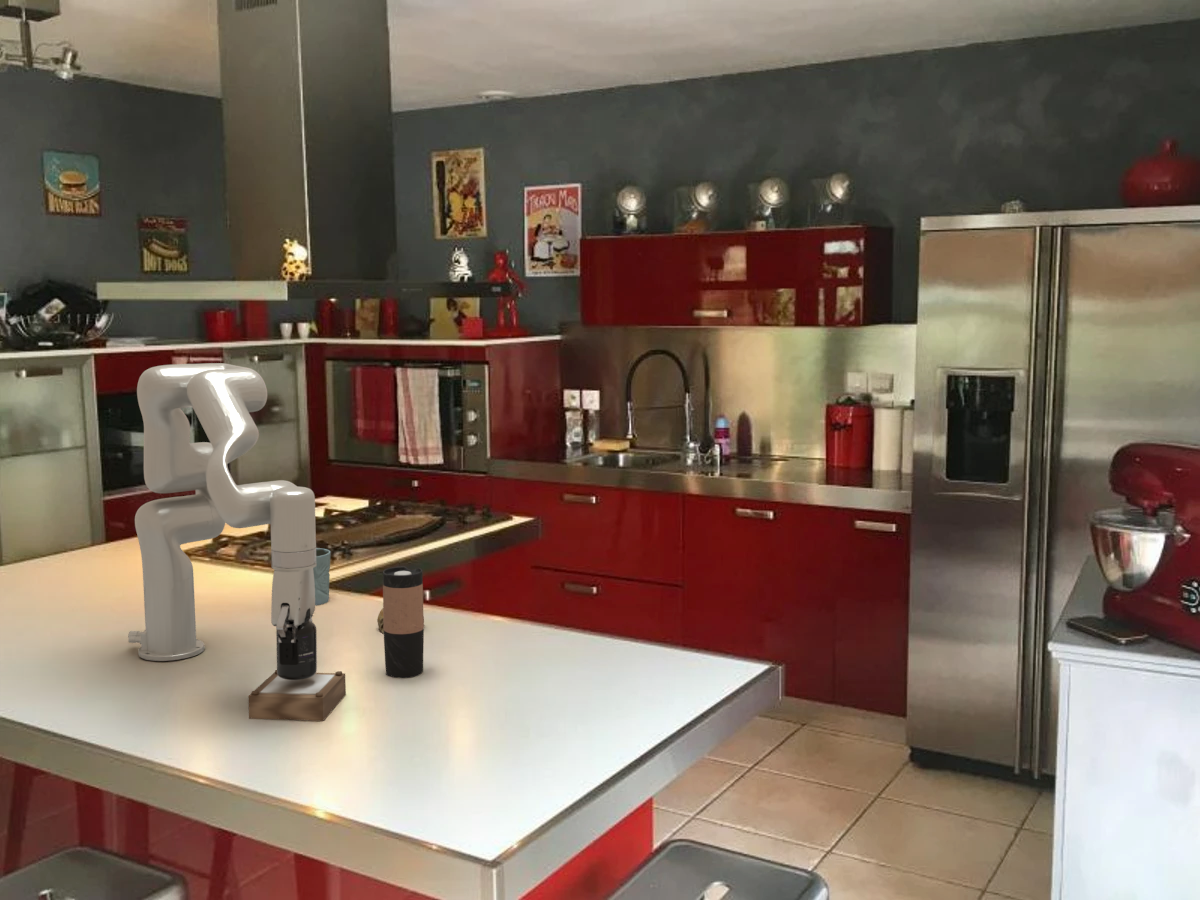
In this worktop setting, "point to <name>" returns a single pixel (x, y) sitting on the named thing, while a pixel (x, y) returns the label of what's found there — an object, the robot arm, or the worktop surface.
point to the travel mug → (403, 621)
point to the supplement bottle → (301, 652)
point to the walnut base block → (297, 697)
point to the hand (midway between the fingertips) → (296, 656)
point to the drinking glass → (322, 576)
